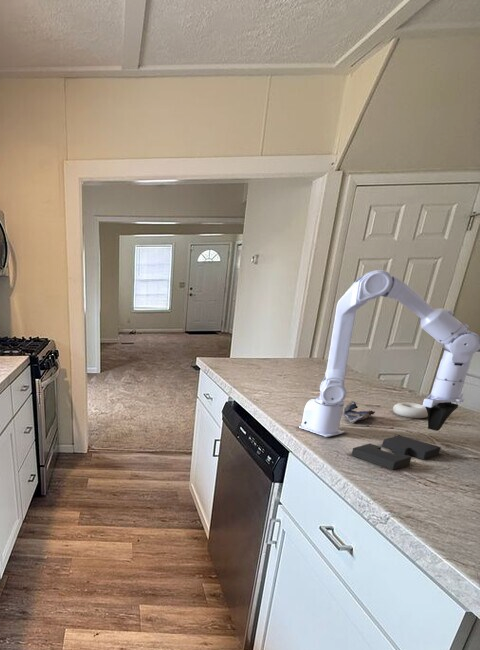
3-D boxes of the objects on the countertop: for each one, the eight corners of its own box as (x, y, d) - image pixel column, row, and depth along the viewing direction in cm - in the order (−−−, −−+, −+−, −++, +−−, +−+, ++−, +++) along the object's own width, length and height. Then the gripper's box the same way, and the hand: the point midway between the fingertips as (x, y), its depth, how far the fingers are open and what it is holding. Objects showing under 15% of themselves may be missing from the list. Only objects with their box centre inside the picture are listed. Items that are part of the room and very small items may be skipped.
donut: (385, 410, 138) (401, 419, 129) (388, 400, 137) (404, 408, 127) (418, 411, 136) (436, 420, 127) (420, 401, 135) (439, 409, 126)
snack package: (326, 416, 133) (360, 426, 122) (332, 397, 131) (366, 405, 121) (349, 417, 137) (384, 427, 127) (355, 399, 136) (391, 407, 126)
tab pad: (377, 447, 107) (379, 440, 106) (397, 441, 111) (399, 435, 110) (419, 460, 99) (421, 453, 98) (438, 454, 102) (441, 447, 102)
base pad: (351, 455, 103) (352, 448, 102) (368, 450, 106) (369, 443, 105) (392, 470, 94) (394, 462, 94) (409, 464, 97) (411, 456, 96)
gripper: (453, 385, 96) (435, 438, 101) (483, 378, 102) (465, 429, 107) (420, 380, 102) (405, 430, 107) (450, 374, 108) (435, 421, 113)
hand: (433, 429), depth 107 cm, fingers closed
